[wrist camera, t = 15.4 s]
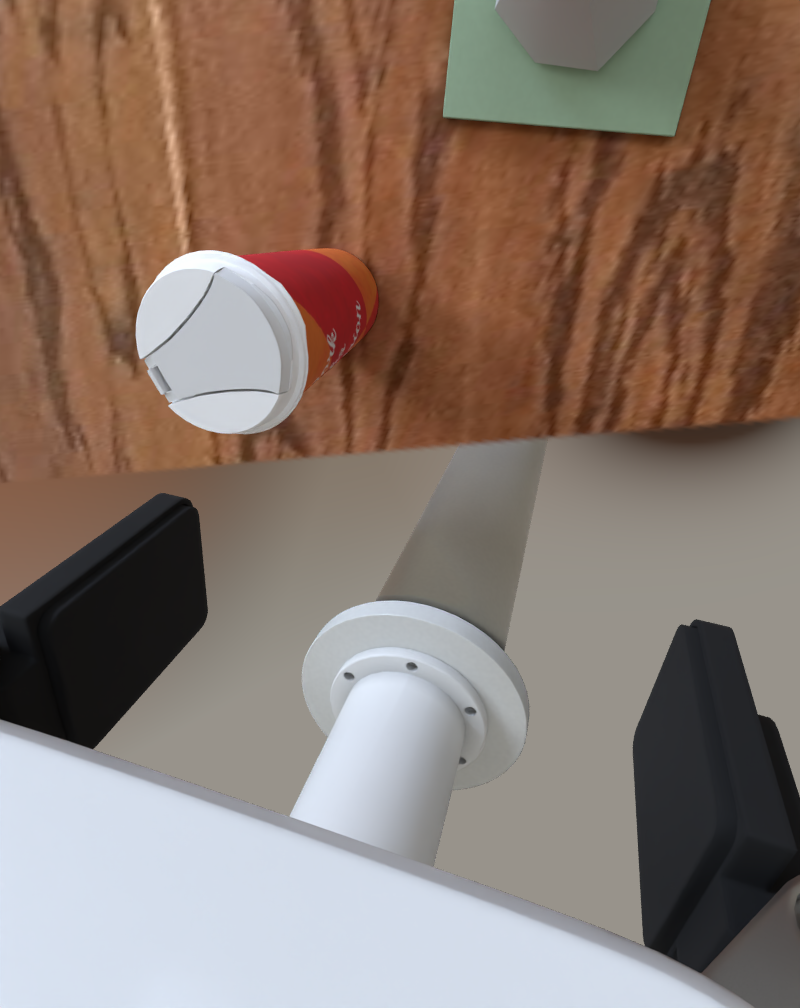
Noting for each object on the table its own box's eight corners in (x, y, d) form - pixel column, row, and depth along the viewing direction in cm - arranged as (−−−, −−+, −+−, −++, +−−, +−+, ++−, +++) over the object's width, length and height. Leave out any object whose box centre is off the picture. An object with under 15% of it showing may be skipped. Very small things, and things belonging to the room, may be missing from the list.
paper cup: (313, 379, 39) (189, 466, 27) (255, 263, 37) (90, 303, 25) (419, 332, 36) (330, 409, 24) (363, 201, 33) (232, 214, 21)
